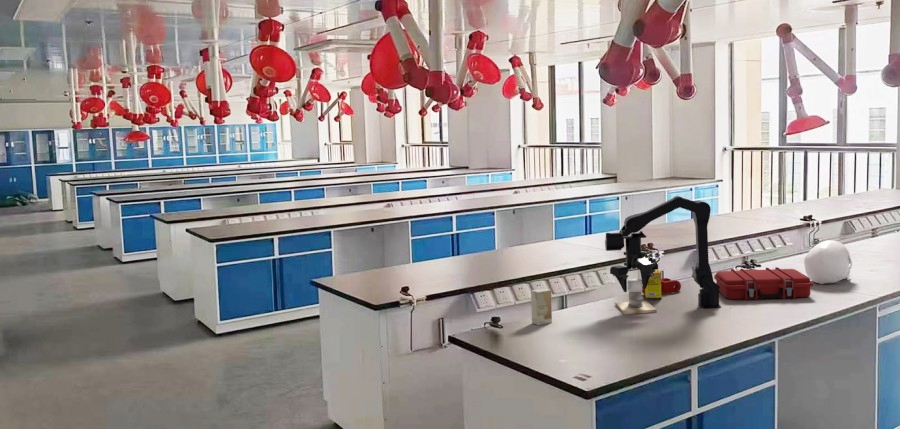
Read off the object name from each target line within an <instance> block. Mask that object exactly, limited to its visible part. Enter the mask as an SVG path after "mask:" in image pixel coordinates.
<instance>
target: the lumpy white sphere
mask: <svg viewBox="0 0 900 429" xmlns="http://www.w3.org/2000/svg"><path fill="white" fill-rule="evenodd" d="M803 263H804V264H803V266H804V269H805V273H806V276H807V277H809V278H810V281H812V282H813V283H816V284H820V285H823V284H836V283H838V282H840V281H841V280H846V281H850V279H851V269H852V266H853V261H852V257H851V255H850V251H849V250H848V249H847V247H846V246H845V245H844V244H843V243H842V242H841V241H838V240H833V239H829V240H824V241H821V242H819V243H817V244H816V245H814V246H813V247H812V248H811V249H809V251H808V252H807V253H806V254H805V256H804V260H803ZM849 265H850V266H849Z"/></svg>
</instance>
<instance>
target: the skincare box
mask: <svg viewBox="0 0 900 429" xmlns="http://www.w3.org/2000/svg"><path fill="white" fill-rule="evenodd" d="M530 300H531V302H530V303H531V304H530V305H531V306H530V308H531V323H532V324H534V325H537V326H540V325H541V326H542V325H547V324H551V323H552V322H553V318H552V317H553V316H552V315H553V312H552V289H549V288H536V289H533V290H530Z"/></svg>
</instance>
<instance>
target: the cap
mask: <svg viewBox="0 0 900 429" xmlns="http://www.w3.org/2000/svg"><path fill="white" fill-rule="evenodd" d="M642 286H643V285H642V279H641V278H629V279H627V292H628V293H629V292H641V293H642Z"/></svg>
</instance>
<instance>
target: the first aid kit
mask: <svg viewBox="0 0 900 429" xmlns="http://www.w3.org/2000/svg"><path fill="white" fill-rule="evenodd" d="M713 280H715V281H716V282H715V283H716V284H717V285H718V286H720V288H719V293H721V295H723V296H724V297H725V298H726V299H728V300H744V301H746V302H747V300H749V299H753V300H755V301H758V299H781V300H785V298H791V299H792V300H796V298H809V297H810V296H811V287H814V282H813V281H812V280H811V279H810V278H809V277H808V276H807V275H805V274H804V273H802V272H801V271H799V270H797V269H796V268H795V269H794V268H779V267H775V268H773V269H771V268H769V267H766V268H765V269H749V270H748V269H746V270H745V269H744V268H740V270H735V269H734V268H731V269H730V270H719V271H717V272H716V273H715V274H713Z"/></svg>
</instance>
